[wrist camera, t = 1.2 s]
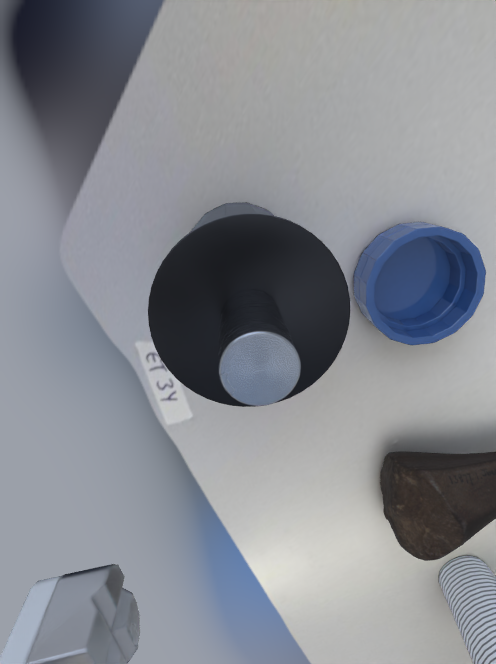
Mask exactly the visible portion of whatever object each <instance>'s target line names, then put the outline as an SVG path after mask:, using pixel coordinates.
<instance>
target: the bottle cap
mask: <svg viewBox="0 0 496 664" xmlns="http://www.w3.org/2000/svg"><path fill="white" fill-rule="evenodd" d="M485 275H486V270H485V267H484V264H483V261H482V258H481V254H480V251H479V249H478V248H477V247H476V246H475V245H474V244H473V243H472V242H471V241H470V240H469V239H468V238H467V237H466V236H465V235H464V234H462V233H460V232H457V231H454V230H451V229H448V228H445V227H442V226H437V225H433V224H429V223H425V222H414V223H404V224H399V225H397V226H395V227H393V228H391V229H389V230H387V231H385V232H383V233H381V234H379V236H377V237H376V238H375V239H374V240H373V241H372V243H371V244H370V245H369V246H368V247H367V248H366V249H365V250H364V251H363V253H362V255H361V257H360V260H359V262H358V265H357V267H356V270H355V272H354V296H355V299H356V301H357V303H358V305H359V307H360V310H361V312H362V314H363V315H364V316H365V317H366V318H367V319H368V320H369V321H370V322H371V323H372V324H373V325H374V326H375V327H376V328H378V329H379V330H380V331H381V332H382V333H384V334H385V335H386V336H387V337H388V338H389V339H391V340H394V341H398V342H401V343H405V344H408V345H419V344H428V343H435V342H437V341H439V340H441V339H443V338H445V337H447V336H449V335H451V334H453V333H455V332H456V331H457V330H458V329H459V328H461V327H462V326H463V325H464V324H465V323H466V322H467V321H468V320H469V319H470V318H471V317H472V315H473V314H474V312H475V310H476V308H477V306H478V304H479V302H480V300H481V298H482V296H483V294H484V285H485Z"/></svg>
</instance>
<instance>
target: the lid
mask: <svg viewBox="0 0 496 664" xmlns="http://www.w3.org/2000/svg"><path fill="white" fill-rule="evenodd" d="M148 318H149V327H150V332H151V337H152V339H153V342H154V345H155V348H156V350H157V352H158V354H159V356H160V358H161V360H162V361H163V362H164V364H165V365H166V367H167V368H168V370H169V371H170V372H171V373H172V374H173V375H174V376H175V377H176V378H177V379H178V380H179V381H180V382H181V383H182V384H184V385H185V386H186V387H188V388H189V389H191V390H192V391H194V392H195V393H197V394H199V395H201V396H203V397H205V398H207V399H210V400H213V401H215V402H218V403H222V404H227V405H233V406H242V407H246V406H264V405H269V404H273V403H276V402H280V401H282V400H285V399H288V398H290V397H292V396H294V395H296V394H298V393H300V392H302V391H303V390H305V389H306V388H308V387H309V386H311V385H312V384H313V383H314V382H316V381H317V380H318V379H319V378H320V377H321V376H322V375H323V374H324V373H325V372H326V371H327V370H328V368H329V367H330V366H331V364H332V363H333V362H334V360H335V359H336V357H337V355H338V353H339V351H340V350H341V348H342V345H343V342H344V340H345V337H346V334H347V330H348V326H349V318H350V298H349V292H348V286H347V283H346V280H345V277H344V274H343V272H342V270H341V268H340V266H339V263H338V262H337V260H336V259H335V257H334V256H333V254H332V253H331V251H330V250H329V249H328V248H327V247H326V246H325V245H324V244H323V242H322V241H320V240H319V239H318V238H317V237H316V236H314V235H313V234H312V233H311V232H309V231H308V230H306V229H304V228H303V227H301V226H300V225H298V224H296V223H293V222H291V221H289V220H287V219H284V218H280V217H277V216H273V215H267V214H261V213H241V214H233V215H228V216H224V217H220V218H217V219H214V220H212V221H210V222H207V223H205V224H203V225H201V226H199V227H198V228H196V229H194V230H193V231H191V232H190V233H189V234H187V235H186V236H185V237H184V238H182V239H181V240H180V241H179V242H178V243H177V244H176V245H175V246H174V247H173V248H172V249H171V251H170V252H169V254H168V255H167V256H166V258H165V259H164V260H163V262H162V264H161V266H160V268H159V269H158V271H157V273H156V276H155V279H154V281H153V284H152V287H151V292H150V296H149V306H148Z"/></svg>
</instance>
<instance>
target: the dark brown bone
mask: <svg viewBox="0 0 496 664" xmlns="http://www.w3.org/2000/svg"><path fill="white" fill-rule="evenodd" d="M380 484H381V491H382V494H383V503H384V515H385V517H386V519H387V520H388V521H389V523H390V525H391V527H392V529H393V531H394V534H395V536H396V538H397V540H398V542H399V544H400V546H401V547H402V548H403V549H405V550H406V551H407V552H409V553H410V554H411V555H413V556H414V557H416V558H418V559H422V560H436V559H439V558H442V557H444V556H445V555H447V554H449V553H450V552H452V551H453V550H455V549H457V548H458V547H460V546H461V545H463V544H464V543H465V542H466V541H468V540H469V539H470V538H471V537H472V536H474V535H475V534H476V533H477V532H479V531H480V530H481V529H482V528H484V527H485V526H486V525H487V524H489V523H490V522H492V521H493V520H494V519H496V452H488V453H476V454H441V453H422V452H391V453H388V454H387V455H386V456H385V459H384V462H383V467H382V470H381V482H380Z"/></svg>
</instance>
